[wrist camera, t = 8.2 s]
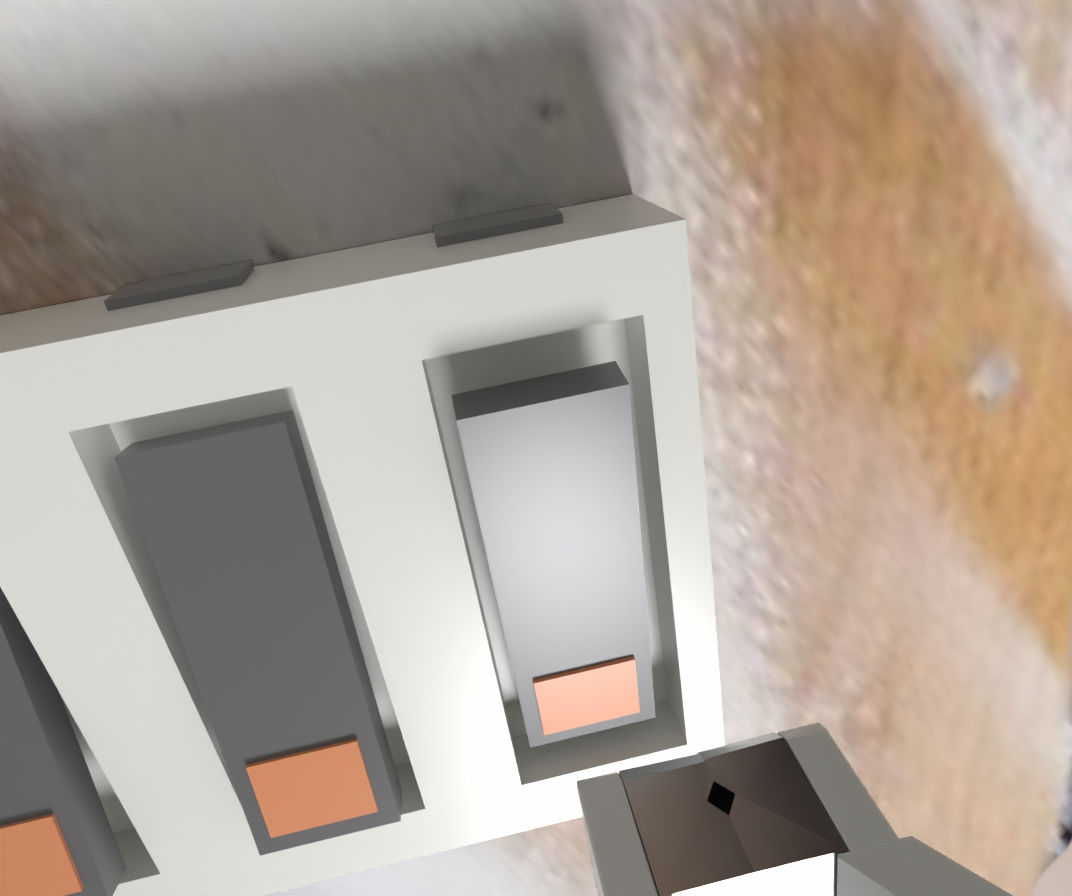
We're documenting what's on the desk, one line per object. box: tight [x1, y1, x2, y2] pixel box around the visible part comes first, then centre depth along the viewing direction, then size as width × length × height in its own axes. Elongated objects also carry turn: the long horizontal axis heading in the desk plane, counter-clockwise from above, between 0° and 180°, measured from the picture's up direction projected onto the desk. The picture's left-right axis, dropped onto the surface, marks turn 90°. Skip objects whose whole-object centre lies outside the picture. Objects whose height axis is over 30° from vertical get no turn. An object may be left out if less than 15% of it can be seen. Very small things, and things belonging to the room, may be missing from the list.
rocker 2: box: [452, 361, 656, 748], centre depth 22 cm, size 12×4×1 cm, turn 9°
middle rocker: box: [114, 410, 402, 856], centre depth 21 cm, size 12×4×1 cm, turn 9°
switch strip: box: [0, 194, 725, 896], centre depth 23 cm, size 18×24×4 cm
